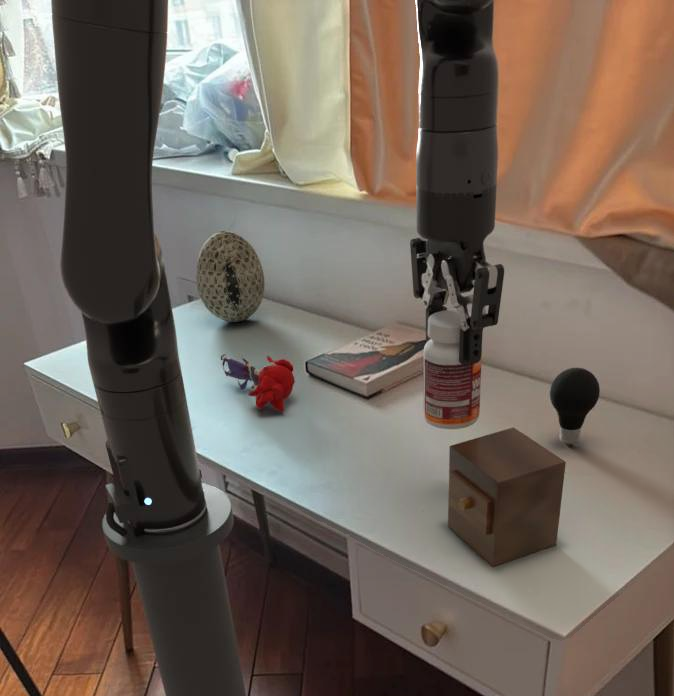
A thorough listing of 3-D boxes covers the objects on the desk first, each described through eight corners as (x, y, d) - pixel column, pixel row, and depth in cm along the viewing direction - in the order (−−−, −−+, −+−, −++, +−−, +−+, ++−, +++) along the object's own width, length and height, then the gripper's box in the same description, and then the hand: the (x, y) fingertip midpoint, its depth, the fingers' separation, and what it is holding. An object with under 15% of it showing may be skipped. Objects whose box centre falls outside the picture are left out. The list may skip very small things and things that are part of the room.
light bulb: (562, 429, 111) (570, 356, 105) (601, 443, 108) (612, 368, 102) (535, 445, 108) (542, 371, 102) (574, 460, 105) (584, 383, 99)
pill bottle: (483, 429, 92) (488, 326, 85) (427, 433, 92) (427, 330, 85) (474, 404, 97) (477, 305, 90) (420, 409, 97) (419, 310, 90)
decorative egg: (207, 335, 147) (192, 245, 138) (200, 314, 156) (186, 227, 147) (273, 326, 148) (263, 236, 139) (262, 305, 158) (252, 219, 148)
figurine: (245, 372, 131) (316, 396, 123) (207, 402, 127) (278, 428, 119) (233, 335, 126) (307, 357, 118) (194, 365, 123) (266, 390, 115)
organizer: (483, 570, 88) (487, 486, 82) (438, 529, 94) (439, 448, 88) (556, 544, 90) (566, 461, 84) (507, 506, 97) (513, 427, 91)
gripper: (384, 173, 84) (389, 339, 94) (463, 200, 73) (458, 384, 83) (450, 162, 86) (447, 325, 96) (535, 187, 75) (522, 367, 86)
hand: (452, 352), depth 90 cm, fingers closed on pill bottle, 6 cm apart
